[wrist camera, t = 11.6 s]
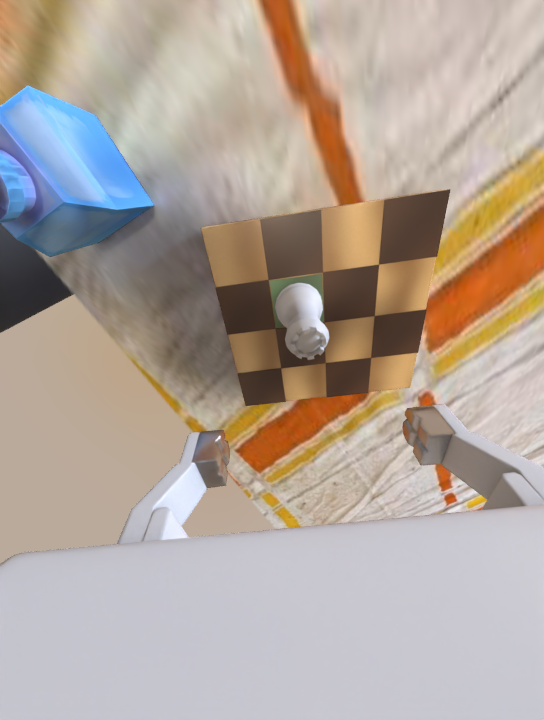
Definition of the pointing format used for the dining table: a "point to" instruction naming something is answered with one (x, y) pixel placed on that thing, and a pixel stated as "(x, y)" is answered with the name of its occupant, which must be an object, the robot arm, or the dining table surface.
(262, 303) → the chessboard
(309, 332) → the rook chess piece
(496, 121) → the dining table surface
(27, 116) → the perfume bottle
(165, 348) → the dining table surface
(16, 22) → the dining table surface
